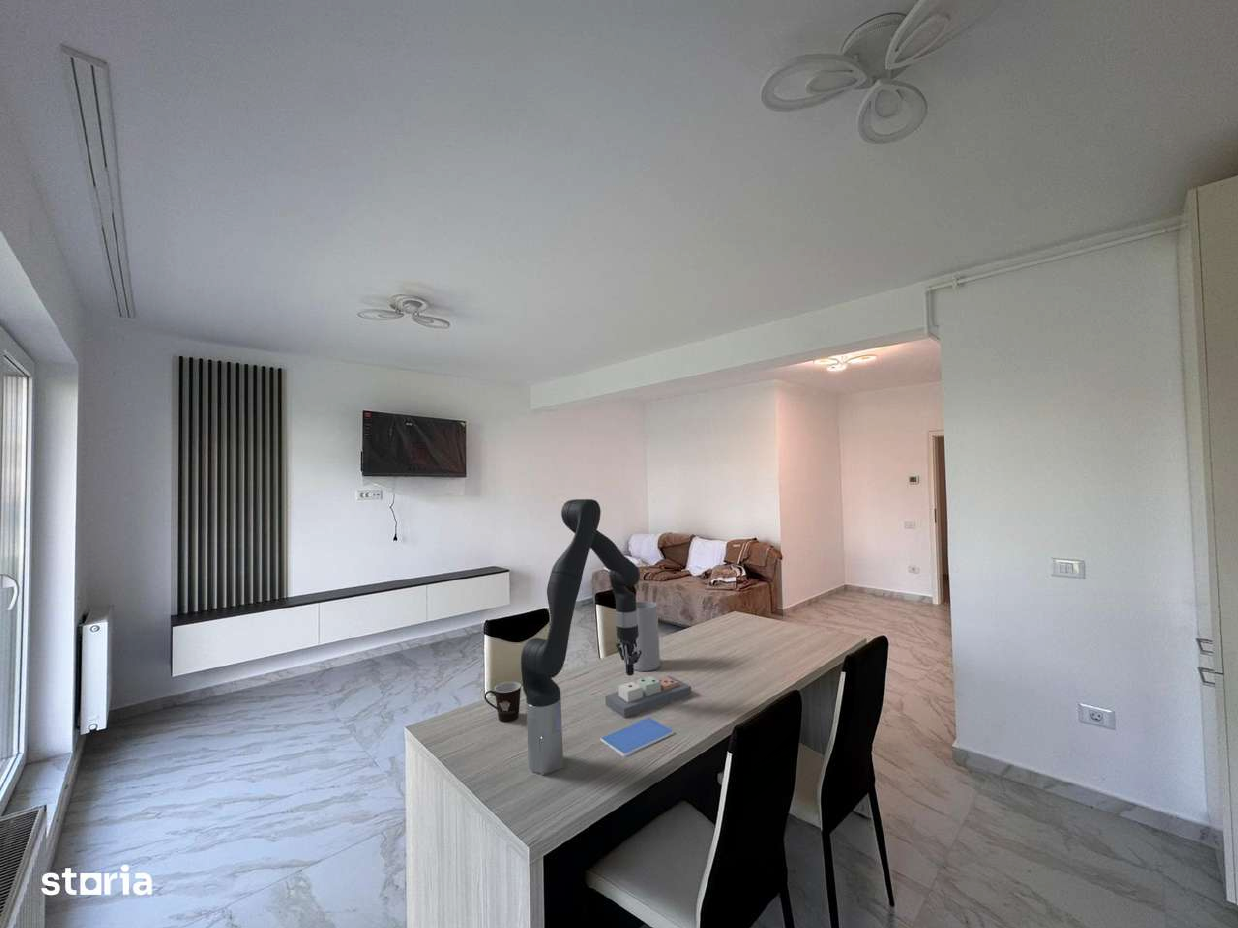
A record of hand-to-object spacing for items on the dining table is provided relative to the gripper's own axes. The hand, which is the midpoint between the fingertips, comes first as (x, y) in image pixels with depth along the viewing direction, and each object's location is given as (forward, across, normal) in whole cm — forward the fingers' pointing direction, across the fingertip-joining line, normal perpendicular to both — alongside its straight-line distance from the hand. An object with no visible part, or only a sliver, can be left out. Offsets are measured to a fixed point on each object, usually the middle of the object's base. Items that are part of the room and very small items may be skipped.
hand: (630, 674), depth 164 cm
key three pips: (+10, 0, -15) cm, 18 cm away
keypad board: (+10, 0, -7) cm, 13 cm away
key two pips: (+8, 0, -7) cm, 10 cm away
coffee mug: (+10, +19, +38) cm, 43 cm away
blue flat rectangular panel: (+11, -18, +10) cm, 23 cm away
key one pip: (+7, 0, 0) cm, 7 cm away
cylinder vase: (+11, +27, -24) cm, 38 cm away
